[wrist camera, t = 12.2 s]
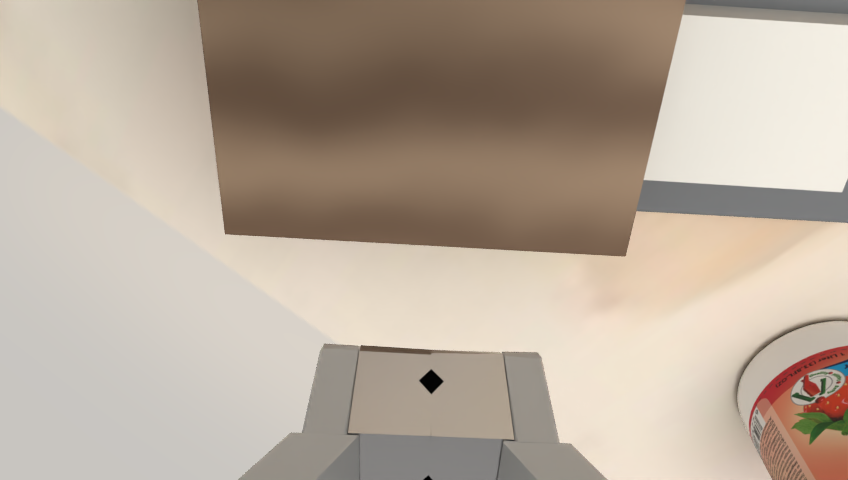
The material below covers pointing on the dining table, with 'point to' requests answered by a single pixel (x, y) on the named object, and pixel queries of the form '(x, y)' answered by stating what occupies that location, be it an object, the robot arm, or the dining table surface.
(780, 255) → the dining table surface
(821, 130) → the tile
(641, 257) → the dining table surface
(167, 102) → the dining table surface
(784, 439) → the fruit juice
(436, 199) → the board
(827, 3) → the mat
